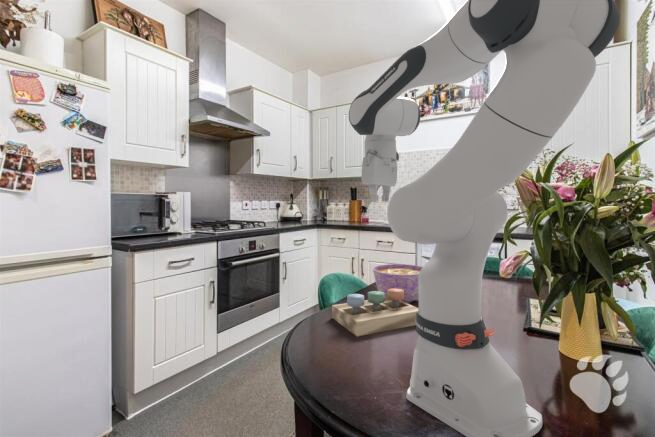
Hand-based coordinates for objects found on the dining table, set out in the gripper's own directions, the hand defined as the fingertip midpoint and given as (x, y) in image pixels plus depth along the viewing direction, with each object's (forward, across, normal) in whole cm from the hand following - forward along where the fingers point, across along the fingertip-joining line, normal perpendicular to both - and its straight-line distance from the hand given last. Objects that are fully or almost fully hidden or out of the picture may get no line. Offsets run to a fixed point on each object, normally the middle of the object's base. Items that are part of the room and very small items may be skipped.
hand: (380, 201), depth 94 cm
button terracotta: (+33, +8, -2) cm, 34 cm away
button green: (+33, +2, +2) cm, 34 cm away
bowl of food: (+36, +26, +1) cm, 45 cm away
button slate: (+33, -3, +6) cm, 34 cm away
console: (+36, +2, +2) cm, 36 cm away
